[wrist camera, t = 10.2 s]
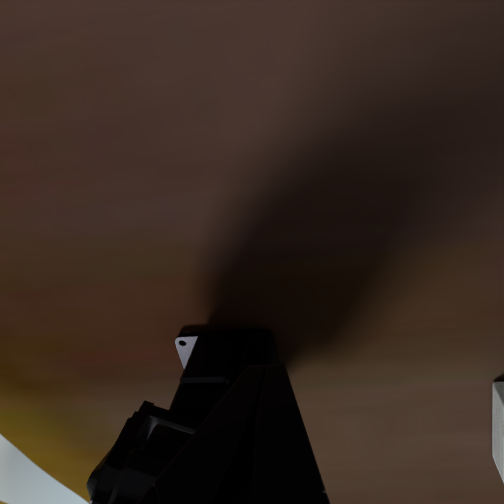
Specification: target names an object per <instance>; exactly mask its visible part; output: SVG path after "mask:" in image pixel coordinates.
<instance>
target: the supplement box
mask: <svg viewBox="0 0 504 504" xmlns="http://www.w3.org/2000/svg"><path fill="white" fill-rule="evenodd" d="M492 416H493V420H492V441H493V443H492V449H493V459H494V461H495V464H496V466H497V468H498V470H499V473H500V475H501V477H502V480H503V482H504V382H494V383H493V410H492Z"/></svg>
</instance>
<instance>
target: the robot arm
mask: <svg viewBox="0 0 504 504" xmlns="http://www.w3.org/2000/svg"><path fill="white" fill-rule="evenodd" d="M264 336H265V337H267V339H265V338H263V337H264ZM181 340H183V341H185V342H183V341H181ZM175 344H176V347H177V350H178V353H179V356H180V359H181V361H182V364H183V367H184V371H183V374H182V376H181V378H180V384H179V386H178V389H177V391H176V394H175V396H174V399H173V401H172V404H171V406H170V409H169V410H166V409H163V408H160V407H157V406H154V403H151V402H148V401H144V402H143V404H142V406H141V407H140V409H139V411H138V412H136V411H135V412H134V414H133V416H132V417H131V418H128V419H127V421H126V423H125V425H124V427H123V429H122V431H121V433H120V435H119V437H118V439H117V441H116V443H115V444H114V446H113V447H112V449H111V450H110V451H109V452H108V453H107V455H106V456H105V457H104V458H103V459H102V461H101V462H100V463H99V464H98V466H97V467H96V468H95V469H94V470H93V472H92V473H91V475H90V477H89V479H88V482H87V490H88V493H89V496H90V499H91V500H90V503H89V504H330V502H329V499H328V495H327V494H326V490H325V487H324V484H323V481H322V478H321V475H320V472H319V469H318V465H317V462H316V459H315V456H314V453H313V450H312V447H311V444H310V441H309V438H308V435H307V432H306V429H305V426H304V423H303V420H302V416H301V413H300V410H299V407H298V404H297V401H296V398H295V395H294V392H293V389H292V386H291V383H290V380H289V377H288V374H287V370H286V368H285V366H284V365H283V364H279V361H278V356H277V351H276V346H275V341H274V336H273V333H272V332H271V331H269V330H267V329H259V330H238V331H218V332H198V333H181V334H179V335H178V336H177V338H176V340H175Z"/></svg>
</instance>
